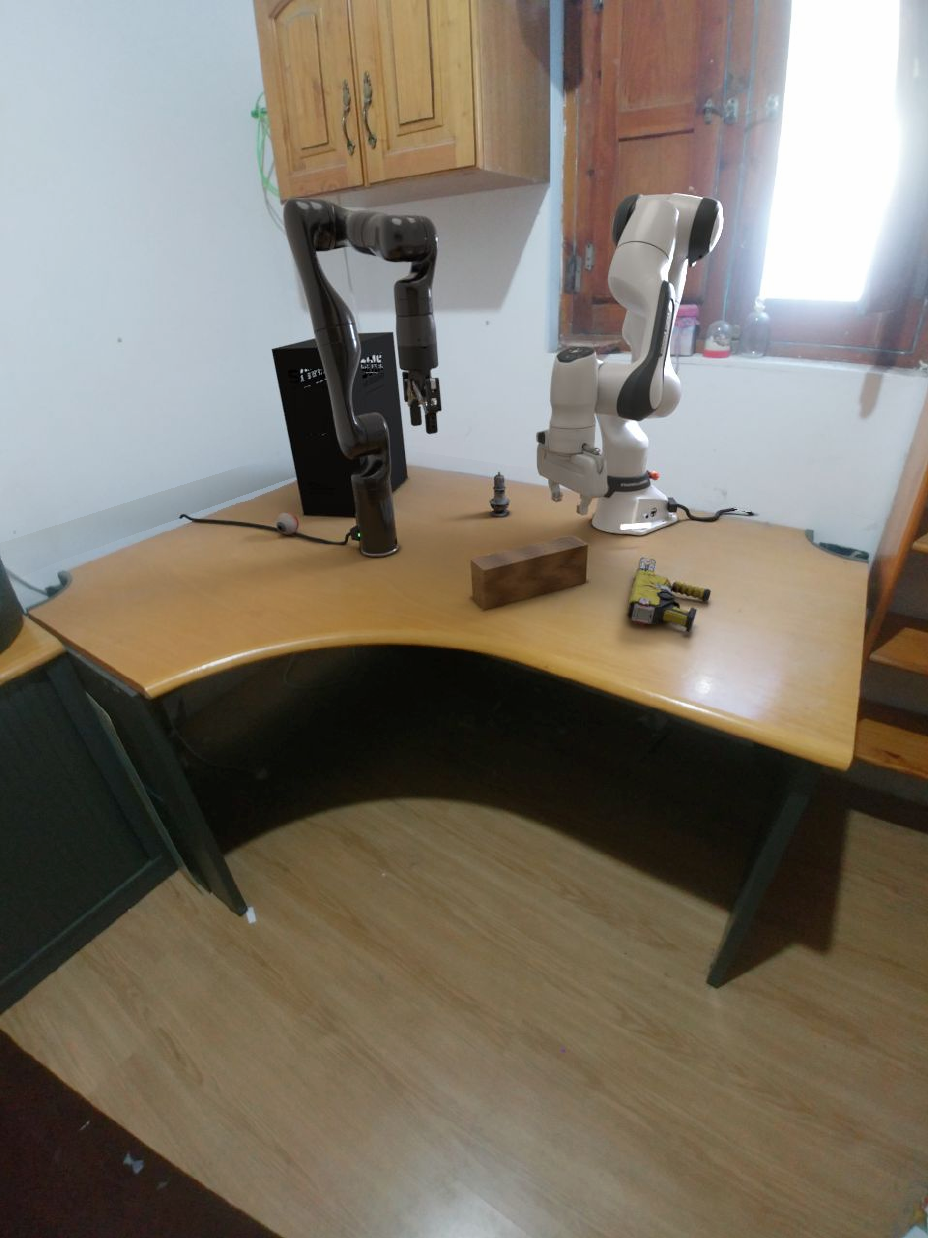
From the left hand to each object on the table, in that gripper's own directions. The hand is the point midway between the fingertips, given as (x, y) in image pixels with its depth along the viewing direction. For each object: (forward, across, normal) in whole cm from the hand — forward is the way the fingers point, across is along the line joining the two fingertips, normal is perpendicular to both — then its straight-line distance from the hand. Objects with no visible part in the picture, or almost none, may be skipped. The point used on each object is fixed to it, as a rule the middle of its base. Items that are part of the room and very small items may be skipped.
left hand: (424, 429), depth 122 cm
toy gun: (+33, +36, +36) cm, 61 cm away
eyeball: (+33, -44, -25) cm, 61 cm away
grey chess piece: (+33, -28, +31) cm, 53 cm away
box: (+33, +17, +15) cm, 40 cm away
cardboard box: (+33, -67, +1) cm, 74 cm away
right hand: (+16, +17, +24) cm, 34 cm away
